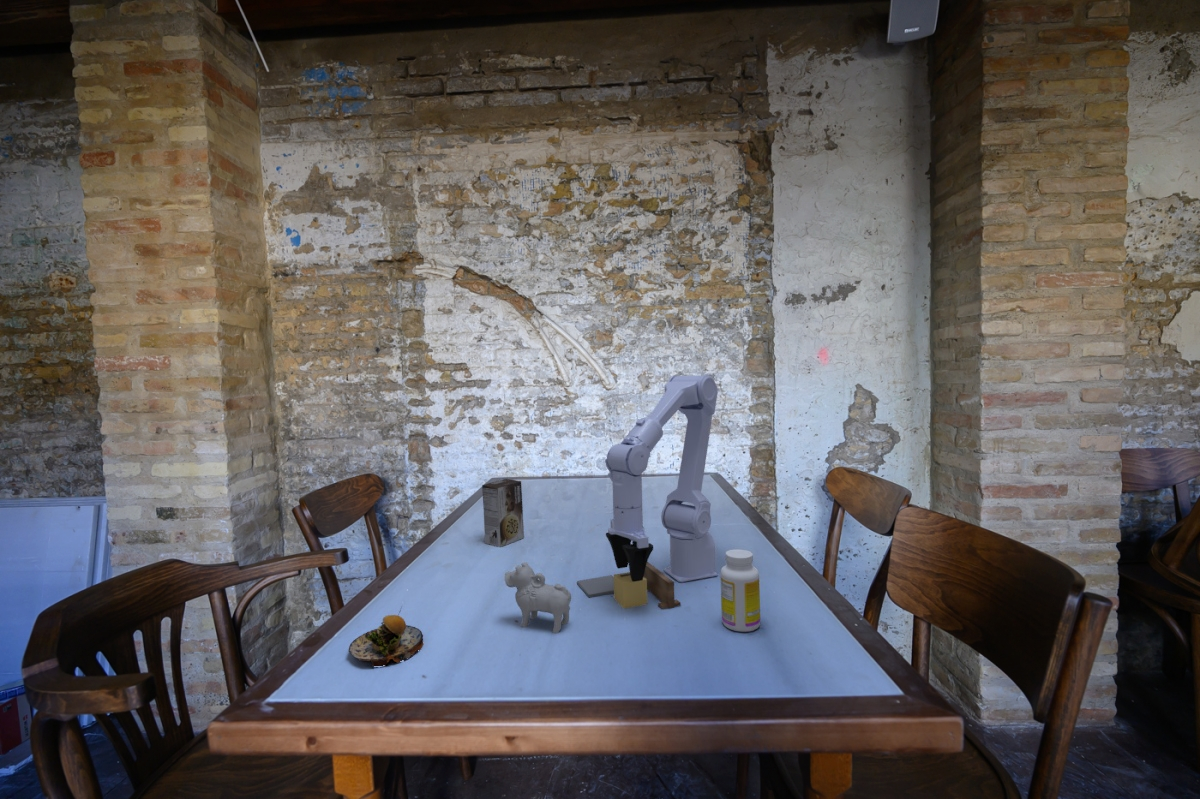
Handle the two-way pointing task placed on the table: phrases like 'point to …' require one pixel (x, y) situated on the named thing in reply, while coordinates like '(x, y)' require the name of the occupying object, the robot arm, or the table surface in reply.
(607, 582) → the coaster
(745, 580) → the supplement bottle
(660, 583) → the wooden board
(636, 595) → the cube
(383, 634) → the burger
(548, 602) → the dog figurine
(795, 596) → the table surface
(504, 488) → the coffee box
